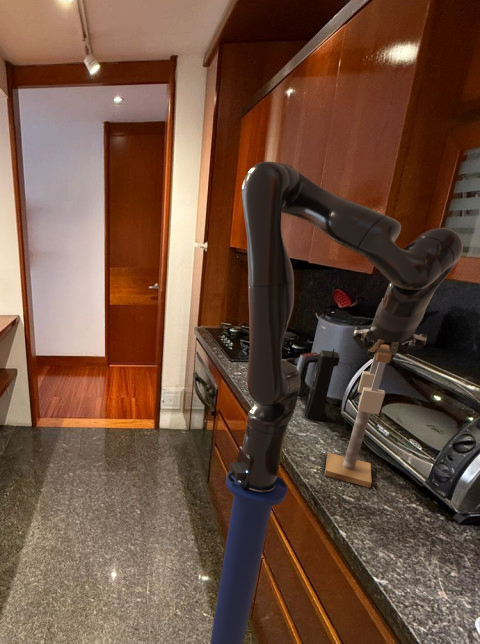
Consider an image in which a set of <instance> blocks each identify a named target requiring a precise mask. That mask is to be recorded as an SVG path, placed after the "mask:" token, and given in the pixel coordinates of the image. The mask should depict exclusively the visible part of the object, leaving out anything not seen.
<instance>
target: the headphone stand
mask: <svg viewBox="0 0 480 644" xmlns="http://www.w3.org/2000/svg"><path fill="white" fill-rule="evenodd" d="M360 398H361V395H359V397H358V403H359V402H360ZM371 414H372V413H368V412H363V411H358V410H357V414H356V418H355V420H354V424H353V427H352V431H351V435H350V439H349V442H348V446H347V449H346V452H345V456H343V455H339V454H335V453H331V452H327V456H326V461H325V467H324V468H325V471H324V476H326V477H329V478H332V479H335V480H340V481H343V482H348V483H351V484H355V485H358V486H362V487H364V488H365V487H366V488H368V489H370V488H371V486H372V481H373V480H372V465H371V462H367V461H363V460H360V459H358V458H359V454H360V451H361V447H362V444H363V441H364V437H365V433H366V430H367V428H368V424H369V420H370V417H371Z"/></svg>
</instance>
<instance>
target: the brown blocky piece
mask: <svg viewBox="0 0 480 644" xmlns="http://www.w3.org/2000/svg"><path fill="white" fill-rule="evenodd" d="M390 359H391V352H390V348H389V345H381V346H380V347H379V348H378V349H377V350H376V353H375V356H374V358H373V359H372V363H371V365H370V369H369V371H366V370H362V373H361V375H360V380H359V383H358V387H357V393H361V395H360V396H361V398H360V402H359V401H358V406H357V412H358V411H363V412H368V413H371V414H374V415H380V411H381V408H382V405H383V402H384V398H385V395H386V391H385V390H384V389H379V388H380V385H381V382H382V379H383V374H384V371H385V368H386V365H387V364H390V362H391V360H390Z"/></svg>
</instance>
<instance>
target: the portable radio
mask: <svg viewBox="0 0 480 644" xmlns="http://www.w3.org/2000/svg"><path fill="white" fill-rule="evenodd" d="M335 350H336V349H335V348H333V349H332V350H323V349H322V350H321V351H320V352H319V354H318V358H317V362H316V367H315V371H314V378H313V381H312V383H311V385H310V387H309V393H308V396H307V399H306V403H305V406H304V410H303V411H304V413H303V414H304V415H303V416H304V417H305V418H306V419H307V420H313V421H319V422H320V421H321V422H324V421H325V420H326V415H327V409H326V402H327V399H328V398H327V397H328V393H329V388H330V384H331V381H332V378H333V377H332V376H333V373H334V368H335V367H338V366H339V363H340V359H341V358H340V354H339V352H338V351H335Z"/></svg>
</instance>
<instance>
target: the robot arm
mask: <svg viewBox="0 0 480 644" xmlns="http://www.w3.org/2000/svg"><path fill="white" fill-rule="evenodd" d="M241 189H242V190H241V200H242V210H243V217H244V224H245V225H244V226H245V233H246V244H247V245H246V246H247V250H246V251H247V269H248V270H247V272H248V273H247V274H248V277H247V278H248V279H247V285H248V286H247V288H248V289H247V291H248V292H247V294H248V295H247V297H248V313H249V314H248V315H249V320H248V321H249V324H248V326H249V327H248V329H249V351H248V362H247V363H248V364H247V373H246V387H247V391H248V393H249V395H250V397H251V398H252V400H253V401H254V402H255V403H254V404H253V406H252V407H251V408H250V409H249V411H248V412H247V417H246V423H245V430H244V436H243V442H242V446H239V447H238V451H237V458H236V462H229V469H228V472H229V471H230V473H229V475H228V478H229V480H230V481H231V482H232V483H233V482H235V480H234V479H233V478H232V477H231V476H232V475H233V476H234V478H235V479H236V481H238V482H239V484H240V485H241V486H242V488H243V489H244V490H249V491H252V492H256V493H270V492H272V491H273V490H274V489H275V487H276V480H277V477H278V475H279V470H280V464H281V460H282V455H283V450H284V445H285V440H286V436H287V431H288V427H289V423H290V422H291V420H292V418H293V416H294V413H295V410H296V406H297V402H298V398H299V395H300V389H301V384H302V383H301V375H300V372H299V370H298V368H297V367H296V366H295V365H294V364H293V363H291V362H289V361H286V360H283V359H282V357H283V356H282V351H283V343H284V338H285V335H286V332H287V329H288V326H289V324H290V320H291V317H292V314H293V310H294V305H295V274H294V273H295V272H294V267H293V264H292V261H291V259H290V256H289V253H288V251H287V248H286V244H285V242H284V238H283V233H282V231H283V230H282V214H284V215H289V216H293V217H295V218H298V219H301V220H303V221H305V222H307V223H309V224H310V225H312V226H314V227H315V228H316V229H318V230H319V231H320V232H321V233H322V234H323V235H325V236H326V237H328V239H330V240H332V241H334V242H335V243H336V244H338V245H340V246H342V247H344V248H346V249H348V250H350V251H351V252H354V253H356V254H358V255H360V256H361V257H364V258H365V259H366V260H367V261H368V262H369V263H370V264H371V265H373V267H375V268H376V269H377V271H379V272H380V273H381V274H382V276H384V277H385V278H386V280H388V282H389V284H388V286H387V288H386V289H385V293H384V295H383V298H382V299H381V301H380V303H379V304H378V306H377V309H376V312H375V315H374V317H373V320H372V322H371V324H370V325H369V326H368V327H367V328H364V329H362V328H361V327H360V326H356V327H354V330H353V335H352V339H353V340H354V341H355V343H356V344H357V346H358V347H359V349H360V350H363V351H364V350H367V352H366V356H367V357H368V358H369V360H373V358H374V356H375V353H376V350H377V349H378V348H379V347H380V346H381V345H389V348H390V352H391V359H390V361H392V360H394V358H395V356H396V355H397V354H400V355H408V354H410V353H413V352H415V351H417V350H419V349H422V348H424V347H425V346H426V344H427V339H428V338H427V337H428V334H426V333H421V334H416V330H417V328H418V326H419V325H420V323H421V322H422V321H423V319H424V315H425V313H426V310H427V307H428V305H429V304H430V302H431V300H432V298H433V296H434V294H435V292H436V290H437V289H438V287H439V286H440V285H441V284H442V282H443V281H444V280H445V279H446V278H447V276H448V275H449V274H450V272H451V271H452V270H453V269H454V267H455V266H456V265H457V263H458V262H459V260H460V258H461V257H462V254H463V248H464V243H463V239H462V237H461V236H460V234H458V232H456V231H455V230H454V229H453V230H452V229H451V228H447V227H436V228H431V229H428V230H426V231H423V232H422V233H421V234H419V235H418V236H417V237H415V239H413V240H412V241H411V242H410V243H409V244H408V245H406V246H405V247H404V248H403V249H402V248H400V247H399V246H398V245H397V244H396V240H398V238H399V235H400V233H401V230H402V224H401V223H400V221H398V220H397V219H394V218H393V217H390V216H388V215H386V214H383V213H382V212H379V211H376V210H374V209H373V208H369V207H367V206H365V205H362V204H360V203H357V202H355V201H352V200H349V199H347V198H344V197H342V196H340V195H337V194H335V193H333V192H330V190H327V189H325V188H323V187H322V186H320V185H318V184H316V183H315V182H314V181H312V180H310V179H309V178H308V177H307V176H305V175H304V174H302V173H301V172H300V171H299V170H297V169H296V168H294V166H292V165H290V164H287V163H283V162H276V161H261V162H258V163H256V164H255V165H254V166H252V167H251V168H250V169H249V171H248V172H247V174H246V176H245V177H244V180H243V183H242V187H241ZM369 338H370V339H371V340H369Z"/></svg>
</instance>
